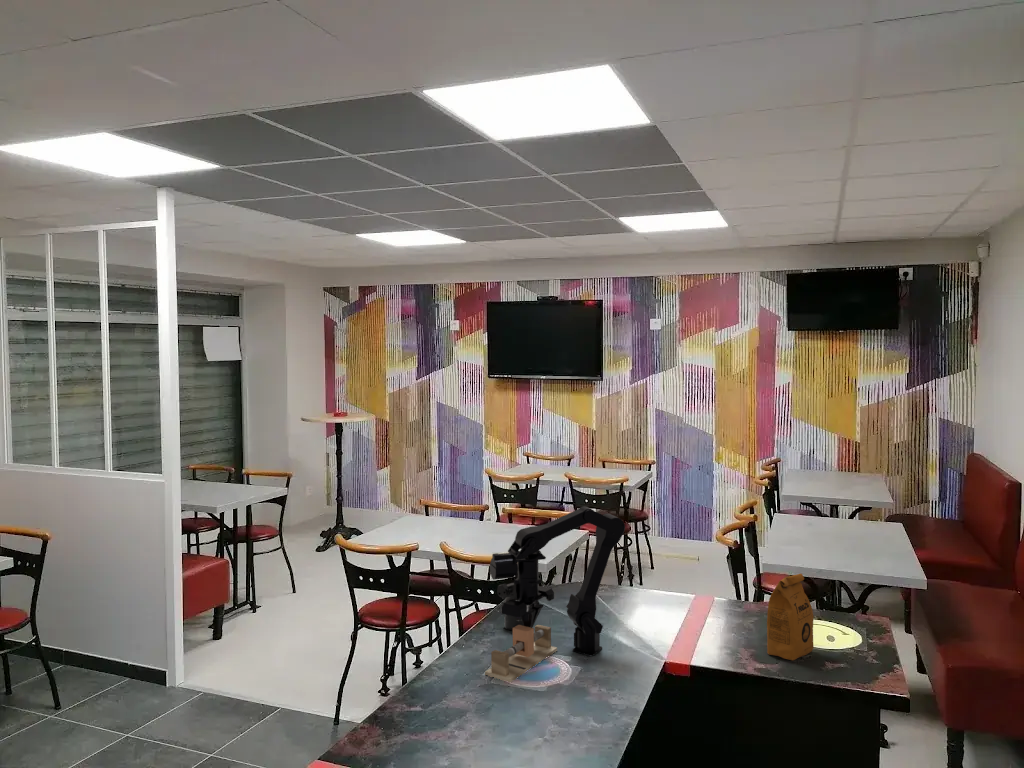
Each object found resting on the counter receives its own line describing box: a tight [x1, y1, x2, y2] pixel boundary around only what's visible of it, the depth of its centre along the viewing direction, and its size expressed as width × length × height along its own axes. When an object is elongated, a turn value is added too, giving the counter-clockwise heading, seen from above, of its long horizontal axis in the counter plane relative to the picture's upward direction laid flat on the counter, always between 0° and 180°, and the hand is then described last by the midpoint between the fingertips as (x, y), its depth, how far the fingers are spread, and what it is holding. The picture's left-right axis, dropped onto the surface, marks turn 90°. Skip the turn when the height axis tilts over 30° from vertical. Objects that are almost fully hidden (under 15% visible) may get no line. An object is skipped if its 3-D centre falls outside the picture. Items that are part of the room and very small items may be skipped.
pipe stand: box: [484, 624, 558, 683], centre depth 200 cm, size 24×8×6 cm, turn 146°
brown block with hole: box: [512, 625, 535, 657], centre depth 200 cm, size 3×5×7 cm, turn 57°
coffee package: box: [766, 573, 815, 661], centre depth 204 cm, size 10×12×22 cm
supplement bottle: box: [504, 596, 524, 632], centre depth 226 cm, size 7×7×12 cm
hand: (528, 631), depth 202 cm, fingers closed
